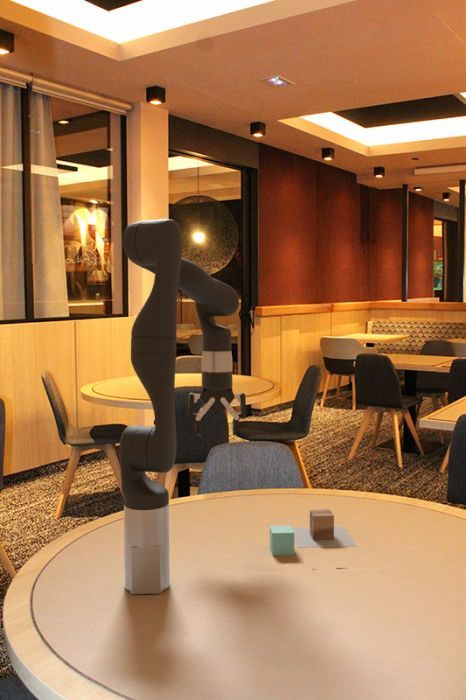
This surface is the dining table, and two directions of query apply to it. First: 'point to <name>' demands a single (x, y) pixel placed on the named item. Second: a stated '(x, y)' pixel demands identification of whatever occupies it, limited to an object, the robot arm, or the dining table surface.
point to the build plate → (305, 540)
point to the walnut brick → (322, 524)
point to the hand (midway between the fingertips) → (217, 435)
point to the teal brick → (281, 540)
